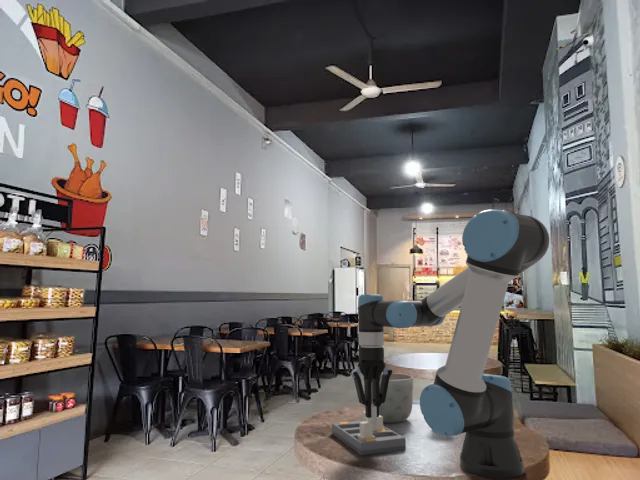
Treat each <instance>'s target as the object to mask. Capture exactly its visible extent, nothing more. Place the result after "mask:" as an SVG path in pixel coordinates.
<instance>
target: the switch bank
mask: <svg viewBox="0 0 640 480" xmlns="http://www.w3.org/2000/svg"><path fill="white" fill-rule="evenodd" d="M360 422H363V419H362V420H354V421H353V420H352V421H339V422H333V423H331V434H332V435H333V436H335V437H336V438H337V439H338V440H340V441H341V442H342V443H344V444H345V445H346V446H348V447H349V448H350V449H352V450H353V451H354V452H356V453H357V454H359V455H360V456H365V455H372V454H373V455H374V453H375V454H383V453H390V452H396V451H397V452H399V451H405V450H407V448H406V447H407V445H406V444H407V442H406V437H404V436H403V435H401V434H399V433H397V432H395V431H394V430H391V429H390V428H388V427H387V426H384V425H383V428H384V429H385V430H378V431H374V432H373V436H375V438H366V439H360V440H358V436H357V435H360ZM382 452H383V453H382Z"/></svg>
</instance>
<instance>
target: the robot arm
mask: <svg viewBox="0 0 640 480" xmlns="http://www.w3.org/2000/svg"><path fill="white" fill-rule="evenodd" d="M462 231H463V232H462V237H461V241H462V242H461V243H462V246H463V250H464V251H465V254H467V255H466V260H465V264H466V265H467V267H466V268H465V269H463V270H462V271H460V272H459V273H458V274H456V275H455V276H453V277H452V278H451V279H449V280H448V281H446V282H445V283H444V284H442V285H441V286H439V287H438V288H437V289H435V290H434V291H432V292H431V293H429V294H428V295H427V296H425V297H424V298H422V299H421V300H402V299H401V300H398V299H397V300H384V297H383V295H382V294H376V293H375V294H373V293H372V294H360V295H359V296H358V301H357V302H358V304H357V313H358V314H357V317H358V318H357V319H358V320H357V321H358V328H357V329H358V345H359V347H358V364H357V368H355V369H354V370H351V371H350V375H351V377H352V378H353V381H354V385H355V386H354V387H355V390H356V394H357V398H358V402H359V404H361V405H363V406H364V407H365V410H364V411H365V415H366V417H367V418H368V421H369V422H371V423H372V424H373V430H377V417H379V407H380V406H381V404H382V403H385V400H386V394H387V389H388V383H389V378H390V376H391V374H392V373H393V370H392V369H389V368H388V367H386V364H385V361H384V360H385V349H384V345H385V343H384V341H385V338H384V337H385V335H384V334H385V333H384V328H395V329H399V330H400V329H409V328H416V327H427V328H428V327H435V326H440V325H441V324H442V323H444V320H445V319H446V316H447V315H449V314H450V313H452V312H454V311H455V310H456V309H458V308H459V307H460V308H459V309H460V310H459V313H458V317H457V321H456V325H455V328H454V333H453V335H452V339H451V342H450V347H449V350H448V355H447V358H446V362H445V365H443V366H442V365H441V367H438V368H437V371H436V373H435V377H434V382H433V383H434V384H432V383H429V384H428V385H427V386H425V387H424V388H423V389H422V390H421V393H420V396H419V409H420V412H421V414H422V416H423V419H424V421H425V423H426V425H427V426H428V427H429V428H430V429H431V430H432V431H433V432H435V433H436V434H438V435H439V436H443V437H450V436H455V437H456V436H459V435H462V434H465V437H464V439H463V444H462V449H461V452H460V454H459V465H460V467H461V468H462V469H463V470H465V471H466V472H468V473H470V474H473V475H477V476H480V477H485V478H489V479H501V480H503V479H507V480H508V479H514V478H518V477H521V476H523V475H524V473H525V464H524V459H523V457H522V455H521V452H520V450H519V447H518V444H517V441H516V438H515V425H514V423H515V422H514V406H513V390H512V384H511V383H512V382H511V381H510V379H509V377H506V376H505V375H498V374H490V373H484V371H485V368H486V366H487V365H486V364H487V361H488V358H489V355H490V351H491V349H492V344H493V340H494V337H495V333H496V329H497V326H498V322H499V319H500V315H501V311H502V308H503V305H504V302H505V301H504V300H505V297H506V295H507V292H508V291H507V290H508V287H509V284H510V282H511V281H512V280H514V279H516V278H518V277H519V276H520V274H521V273H522V272H524V271H526V270H527V269H529V268H530V267H533V266H534V265H536V263H538V262H539V261H540V260H541V259H543V257H544V256H545V255H546V254H547V252H548V249H549V246H550V234H549V232H548V229H547V228H546V226H545V224H544V223H543V222H541V221H540V220H539V219H537V218H535V217H534V216H531V215H526V214H519V213H516V212H510V211H508V210H507V211H506V210H504V209H503V210H502V209H485V210H482V211H480V212H479V213H477V214H475V215H473V216H472V217H471V218H470V219H469V220H468V222H467V224H466V225H465V227H464V229H463V230H462ZM382 373H383V376H382V380H381V385H380V389H379V382H380V375H381V374H382ZM361 376H363V382H362V378H361ZM363 383H364V385H363ZM372 402H373V405H372Z"/></svg>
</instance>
